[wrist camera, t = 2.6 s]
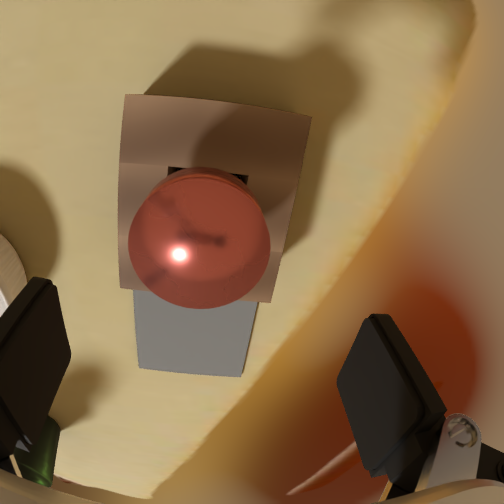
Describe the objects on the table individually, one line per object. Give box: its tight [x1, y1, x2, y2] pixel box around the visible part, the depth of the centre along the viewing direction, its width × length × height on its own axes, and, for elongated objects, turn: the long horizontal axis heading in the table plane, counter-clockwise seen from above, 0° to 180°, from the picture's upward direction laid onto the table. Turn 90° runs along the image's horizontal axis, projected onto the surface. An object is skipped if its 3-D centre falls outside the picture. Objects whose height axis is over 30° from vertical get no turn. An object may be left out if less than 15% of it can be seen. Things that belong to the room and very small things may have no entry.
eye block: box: [118, 94, 312, 303], centre depth 19 cm, size 12×10×4 cm
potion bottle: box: [13, 415, 60, 488], centre depth 25 cm, size 8×8×18 cm
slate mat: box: [133, 290, 257, 377], centre depth 27 cm, size 10×10×1 cm
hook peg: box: [128, 167, 271, 309], centre depth 17 cm, size 6×6×9 cm
